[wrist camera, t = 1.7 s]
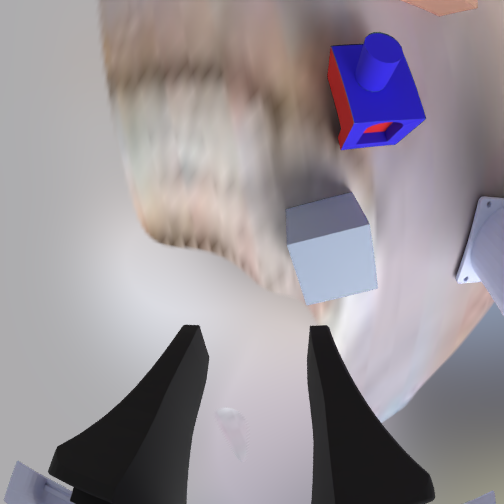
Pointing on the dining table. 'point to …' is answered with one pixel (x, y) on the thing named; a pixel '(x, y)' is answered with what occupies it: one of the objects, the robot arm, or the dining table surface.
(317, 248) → the slate blue block
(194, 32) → the dining table surface
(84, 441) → the robot arm
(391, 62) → the toy building block
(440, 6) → the terracotta block
